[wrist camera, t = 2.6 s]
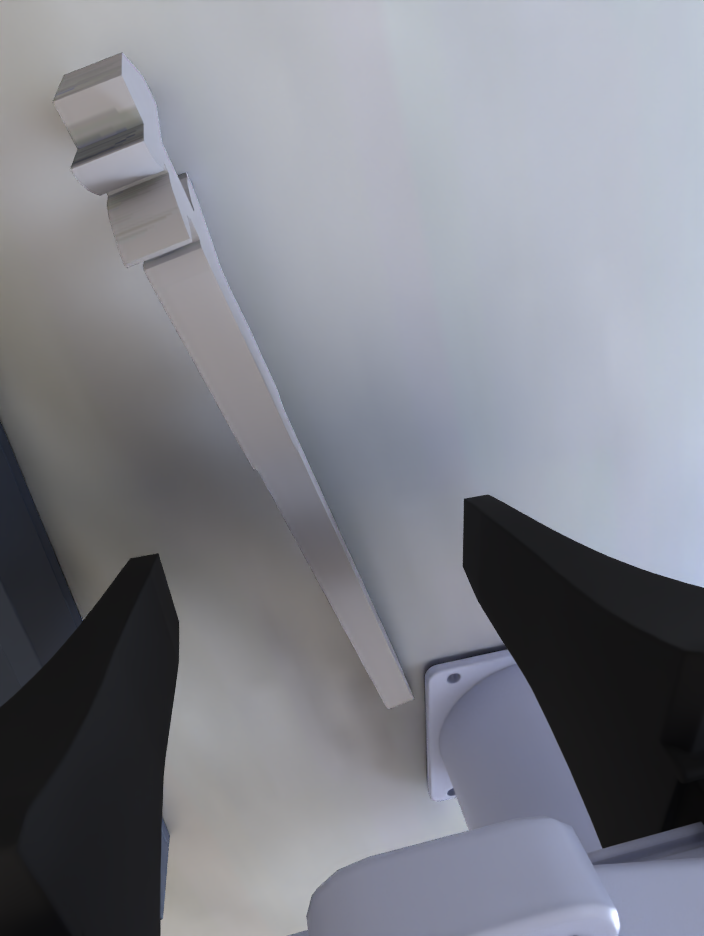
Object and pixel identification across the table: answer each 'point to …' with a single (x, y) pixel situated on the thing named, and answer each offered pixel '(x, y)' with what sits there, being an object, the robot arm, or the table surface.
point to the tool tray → (33, 596)
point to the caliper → (212, 326)
